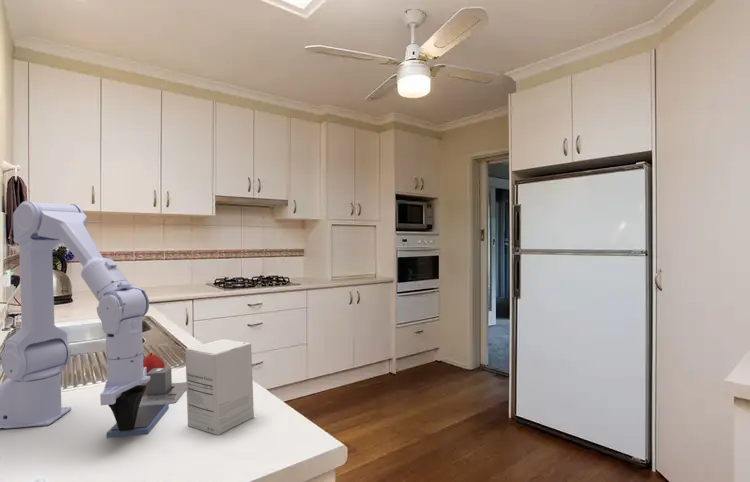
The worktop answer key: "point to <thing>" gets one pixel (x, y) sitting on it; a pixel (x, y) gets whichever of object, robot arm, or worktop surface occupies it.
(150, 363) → the onion
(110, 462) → the worktop surface
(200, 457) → the worktop surface
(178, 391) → the plate
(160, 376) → the block
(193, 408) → the supplement box
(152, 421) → the phone
